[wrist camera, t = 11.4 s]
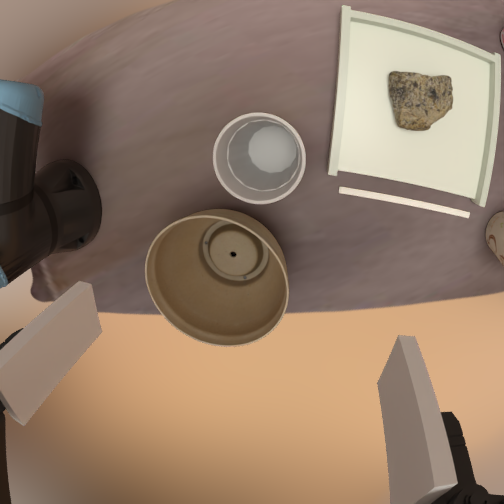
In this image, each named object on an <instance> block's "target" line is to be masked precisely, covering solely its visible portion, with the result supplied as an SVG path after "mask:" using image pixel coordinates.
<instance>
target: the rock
mask: <svg viewBox="0 0 504 504" xmlns="http://www.w3.org/2000/svg"><path fill="white" fill-rule="evenodd" d="M451 82H452V80H451V77H449V76H447V75H440V76H439V75H438V76H433V77H430V76H428V75H422V74H420V73H414V72H413V73H412V72H399V71H392V72H391V73H390V74H389V87H390V88H389V92H390V97H391V98H392V101H393V108H394V115H395V121H396V123H397V126H398V127H400V128H404V129H406V130H412V131H425V130H429V129H430V128H431V125H432V124H433V123H435V122H437V121H438V120H439V119H441V118H443V117H444V116H445V114H446V113H447V112H448V111H449V110H451V109H452V104H453V95H452V91H453V87H452V84H451Z"/></svg>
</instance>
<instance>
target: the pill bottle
mask: <svg viewBox="0 0 504 504" xmlns="http://www.w3.org/2000/svg"><path fill="white" fill-rule="evenodd" d="M501 42H502V46H503V48H504V28H503V30H502V32H501Z"/></svg>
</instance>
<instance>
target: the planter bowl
mask: <svg viewBox="0 0 504 504" xmlns="http://www.w3.org/2000/svg"><path fill="white" fill-rule="evenodd" d="M231 252H235V253H236V256H234V257H233V256H232V255H231ZM145 279H146V284H147V288H148V291H149V293H150V296H151V298H152V300H153V302H154V304H155V305H156V307H157V309H158V310H159V311H160V313H161V314H162V315H163V316H164V317H165V319H166V320H167V321H168V322H169V323H170V324H171V325H173V326H174V327H175V328H176V329H177V330H179V331H180V332H182V333H183V334H185V335H187V336H189V337H191V338H193V339H195V340H197V341H199V342H202V343H206V344H210V345H214V346H223V347H236V346H242V345H248V344H251V343H253V342H256V341H258V340H260V339H262V338H264V337H265V336H266V335H268V334H269V333H270V332H272V331H273V330H274V329H275V327H276V326H277V325H278V324H279V323H280V321H281V320H282V318H283V316H284V314H285V311H286V308H287V304H288V298H289V281H288V273H287V266H286V261H285V258H284V255H283V252H282V250H281V248H280V246H279V244H278V242H277V241H276V239H275V238H274V236H273V235H272V234H271V233H270V231H269V230H268V229H267V228H266V227H265V226H264V225H262V224H261V223H260V222H258V221H257V220H255V219H254V218H252V217H250V216H248V215H246V214H243V213H241V212H238V211H234V210H228V209H209V210H204V211H200V212H196V213H193V214H191V215H189V216H186V217H184V218H181V219H179V220H177V221H175V222H173V223H171V224H170V225H168V226H167V227H165V228H164V229H163V230H162V231H161V232H160V233H159V234H158V235H157V236H156V238H155V239H154V240H153V242H152V244H151V246H150V248H149V250H148V253H147V257H146V262H145Z"/></svg>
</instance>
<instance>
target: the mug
mask: <svg viewBox="0 0 504 504" xmlns="http://www.w3.org/2000/svg"><path fill="white" fill-rule="evenodd" d="M485 236H486V242H487V244H488V246H489V247H490V249H491V250H492V251H493V253H494V254H495V255H496V257H497V258H498V259H499V261H500V262H501V263H502V265H503V266H504V212H498V213H496V214H495V215H494V216H493V217H492V218H491V219H490V221H489V222H488V225H487V228H486V234H485Z"/></svg>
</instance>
